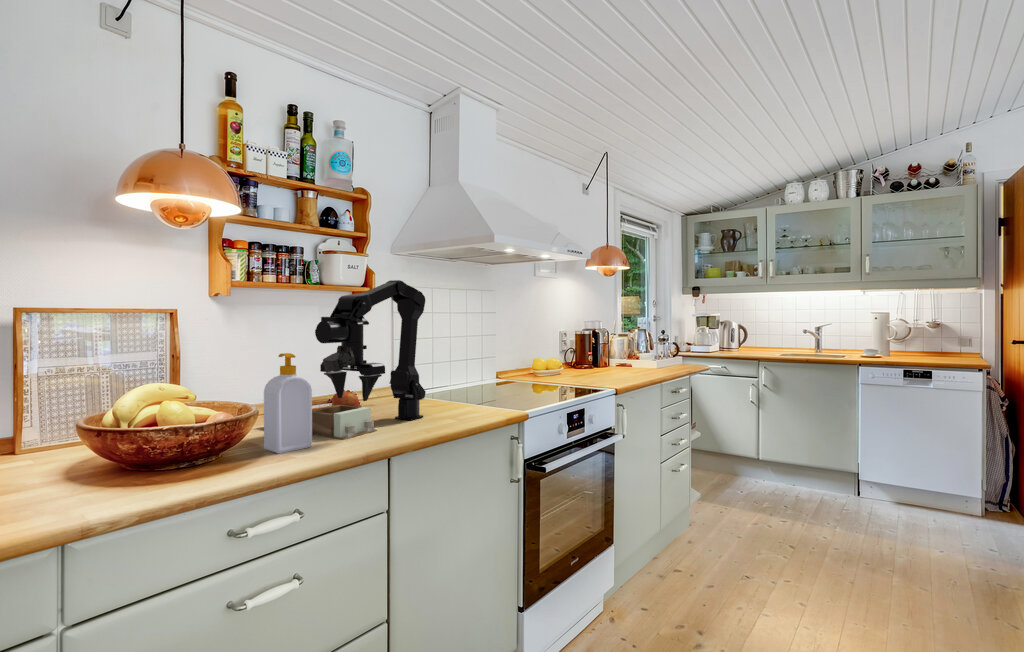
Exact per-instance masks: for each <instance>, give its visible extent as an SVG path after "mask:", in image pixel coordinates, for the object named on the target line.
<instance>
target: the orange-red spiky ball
mask: <svg viewBox="0 0 1024 652" xmlns="http://www.w3.org/2000/svg"><path fill="white" fill-rule="evenodd" d="M337 405H347V406H355V407H360V399H359V397H358V396H357V395H356V393H353V392H350V391H344V392H343V396H342V398H338V396H337V393H336V392H335V394H333V396H332V401H331V407H332V406H337Z"/></svg>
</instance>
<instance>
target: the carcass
mask: <svg viewBox="0 0 1024 652" xmlns="http://www.w3.org/2000/svg"><path fill="white" fill-rule="evenodd" d="M357 408H362V406H359V407H355V406H347V405H337V406H332V405H331V406H328V407H323V408H318V409H312V435H313V436H314V435H316V436H321V437H327V438H333V439H339V440H345V441H346V440H349V439H351V438H355V437H358V436H362V435H363V436H364V435H366V434H370V433H374V432H377V431H378V428H377V429H376V428H375V421H374V420H370V421H366V422H364V431H362V432H358V433H355V425H350V426H346V427H345V436H343V437H336V436H334V413H339V412H343V411H348V410H353V409H357Z"/></svg>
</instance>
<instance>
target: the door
mask: <svg viewBox="0 0 1024 652" xmlns="http://www.w3.org/2000/svg"><path fill="white" fill-rule="evenodd" d="M361 407H362V406H361ZM371 417H372V416H371V407H367V406H363V407H362V408H357V409H353V410H348V411H343V412H339V413H334V436H336V437H343V436H345V427H346V426H350V425H355V433H358V432H362V431H364V422H366V421H370V420H371Z"/></svg>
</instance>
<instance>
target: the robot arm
mask: <svg viewBox="0 0 1024 652" xmlns="http://www.w3.org/2000/svg"><path fill="white" fill-rule="evenodd" d="M390 298H391V300H392V301H393V302H394V303H396V306H397V307H396V309H397V312H398V314H399V316H400V318H401V324H400V325H401V326H400V338H399V340H400V341H399V352H398V364H397V366H396V368H395V369H393V370H391V371H390V381H389V384H390V389H391V392H392V397H393V399H398V404H397V413H398V414H397V415H396V416H395V417H394V419H397V420H405V421H413V420H417V419H420V418H424V415H423V414H420V401H422V400H423V399H425V397H426V393H427V392H426V390H425V388H424V387H423V386H422V385H421V384H420V374H419V372H418V370H417V368H416V365H415V364H416V352H417V338H418V337H417V335H418V325H419V324H418V323H419V319H420V317H421V316H422V315H423V313H424V312H425V305H426V297H425V295H424V294H423V292H422V291H420V290H418V289H417V288H415V287H413V286H411V285H408V284H407V283H405V282H404V281H403V280H400V279H398V280H397V279H396V280H394V279H393V280H388V281H386V282H385V283H383V284H380V285H378V286H376V287H373V288H371V289H368V290H366V291H364V292H361V293H354V294H352V293H351V294H347V295H341V296H340V297H338V299H337V300H338V301H337V304H336V305H335V307H334V309H333V311H332V313H331V314H330V316H321V317H320V322H318V324H317V325H316V327H315V330H314V334H315V338H316V340H317V341H318V342H319V343H320V344H337V343H339V344H341V345H337V348H336V352H334V353H332V354H330V355H327V356H326V357H324V358H323V359H322V362H321V363H320V372H322V373H323V372H324V373H323V375H325V376H327V377H328V378H329V379H330V380H331V382H332V384H333V386H334V387H333V388H334V391H335V394H336V393H337V396H338V398H342V396H343V392H344V390H345V384H346V379H347V373H348V371H349V372H358V373H359V375H358V378H359V380H360V381H361V390H362V392H361V393H362V394H361V395H362V401H363V402H367V401H368V399H369V397H370V395H371V393H372V391H373V388H374V387H375V386H376V385H375V384H376V383H377V381H378V379H379V378H381V377H382V375H385V374H386V366H385V364H384V363H381V362H368V363H367V361H368V360H364V350H367V346H368V345H365V344H364V326H368V325H369V324H370V322H369V321H368V320H367V318H365V316H366V314H368V313H369V312H370V311H372V308H373V307H374V306H376V305H377V304H380V303H382V302H383V301H387V300H388V299H390Z"/></svg>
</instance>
